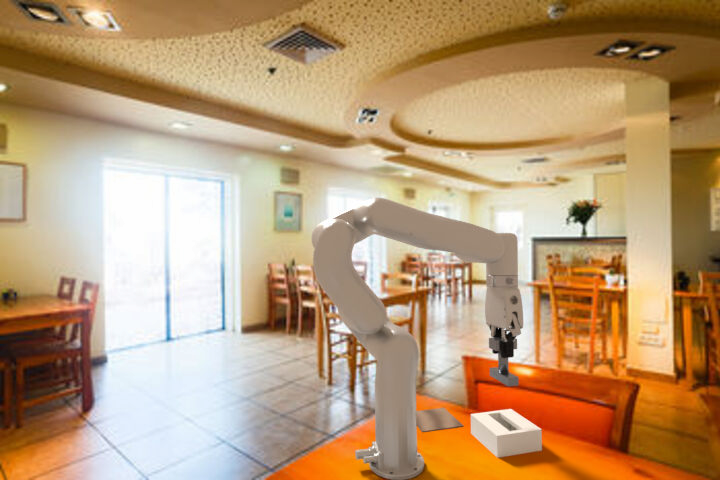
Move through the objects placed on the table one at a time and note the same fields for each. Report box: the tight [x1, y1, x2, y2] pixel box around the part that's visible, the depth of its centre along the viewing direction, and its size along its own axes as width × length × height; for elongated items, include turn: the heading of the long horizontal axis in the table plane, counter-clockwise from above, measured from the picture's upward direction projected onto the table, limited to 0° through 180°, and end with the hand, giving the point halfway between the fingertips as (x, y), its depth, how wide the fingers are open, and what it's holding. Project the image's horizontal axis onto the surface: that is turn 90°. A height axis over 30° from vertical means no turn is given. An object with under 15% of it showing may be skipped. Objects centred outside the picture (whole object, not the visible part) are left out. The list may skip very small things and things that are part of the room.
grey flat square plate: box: [416, 407, 464, 433], centre depth 111 cm, size 12×12×1 cm
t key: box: [488, 337, 520, 387], centre depth 98 cm, size 8×6×10 cm
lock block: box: [470, 408, 543, 458], centre depth 98 cm, size 12×12×6 cm
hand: (502, 354), depth 98 cm, fingers closed on t key, 3 cm apart
